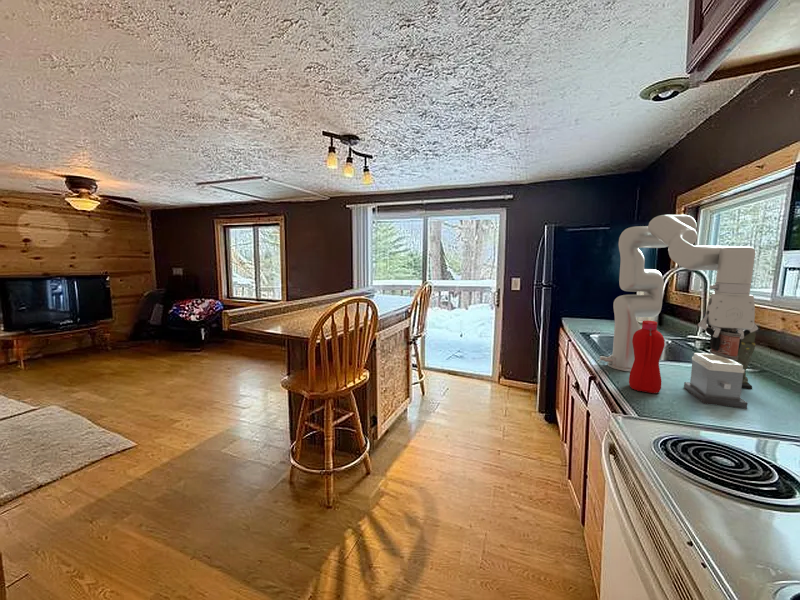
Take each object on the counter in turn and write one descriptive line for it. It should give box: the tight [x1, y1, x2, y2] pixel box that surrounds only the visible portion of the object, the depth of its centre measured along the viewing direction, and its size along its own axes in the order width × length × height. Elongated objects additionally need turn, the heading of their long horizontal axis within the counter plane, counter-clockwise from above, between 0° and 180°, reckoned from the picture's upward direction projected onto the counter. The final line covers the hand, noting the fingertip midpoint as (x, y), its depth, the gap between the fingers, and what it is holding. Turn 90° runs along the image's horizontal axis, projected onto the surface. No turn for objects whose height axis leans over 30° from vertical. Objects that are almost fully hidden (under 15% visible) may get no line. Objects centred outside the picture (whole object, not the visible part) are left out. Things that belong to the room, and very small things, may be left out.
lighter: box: [709, 328, 741, 360], centre depth 106 cm, size 8×3×10 cm, turn 179°
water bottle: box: [628, 320, 665, 394], centre depth 127 cm, size 9×11×25 cm
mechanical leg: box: [734, 331, 756, 390], centre depth 134 cm, size 14×7×30 cm, turn 168°
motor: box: [683, 352, 749, 409], centre depth 121 cm, size 11×16×14 cm
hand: (724, 349), depth 106 cm, fingers closed on lighter, 4 cm apart
